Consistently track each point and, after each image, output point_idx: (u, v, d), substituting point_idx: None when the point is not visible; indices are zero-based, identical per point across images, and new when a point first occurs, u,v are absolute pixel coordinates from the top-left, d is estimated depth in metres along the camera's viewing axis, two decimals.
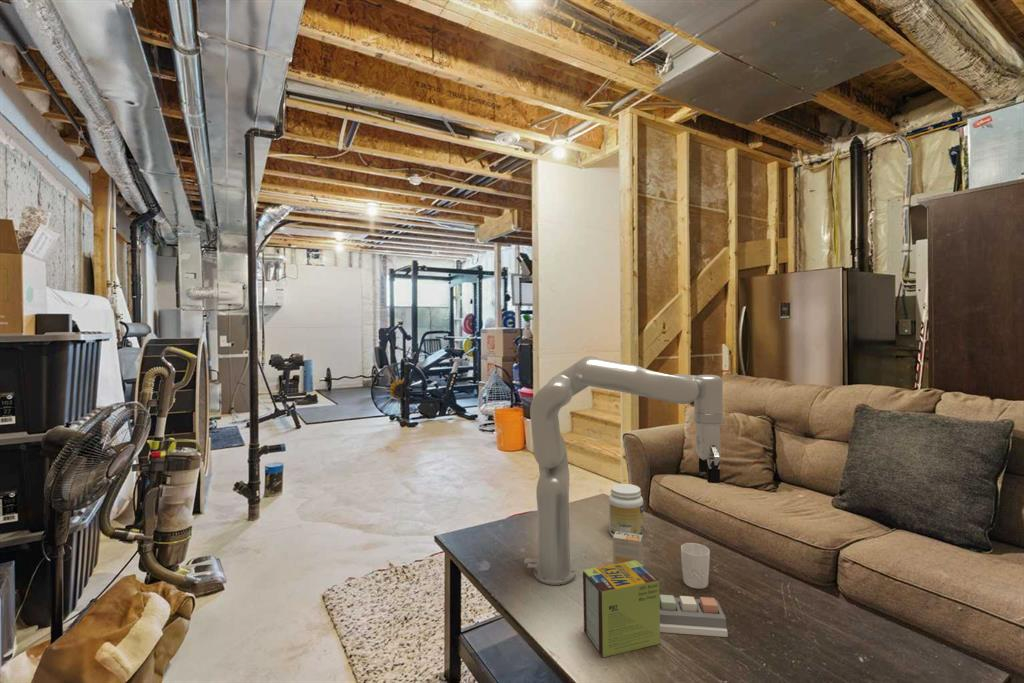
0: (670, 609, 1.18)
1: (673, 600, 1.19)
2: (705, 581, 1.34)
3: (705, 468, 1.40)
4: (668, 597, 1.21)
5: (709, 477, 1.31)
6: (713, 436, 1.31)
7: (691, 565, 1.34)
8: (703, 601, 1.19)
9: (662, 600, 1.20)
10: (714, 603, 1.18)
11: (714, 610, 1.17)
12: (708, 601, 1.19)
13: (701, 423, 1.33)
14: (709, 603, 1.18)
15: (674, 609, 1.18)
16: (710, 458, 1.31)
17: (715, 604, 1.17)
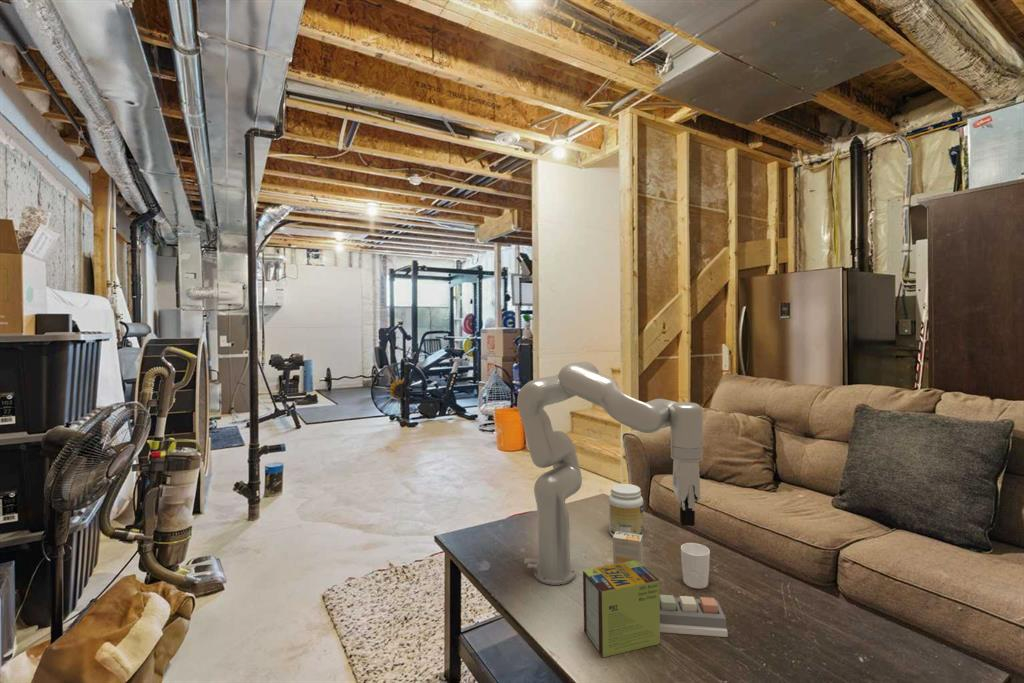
0: (670, 609, 1.18)
1: (673, 600, 1.19)
2: (705, 581, 1.34)
3: None
4: (668, 597, 1.21)
5: (683, 519, 1.18)
6: (691, 474, 1.13)
7: (691, 565, 1.34)
8: (703, 601, 1.19)
9: (662, 600, 1.20)
10: (714, 603, 1.18)
11: (714, 610, 1.17)
12: (708, 601, 1.19)
13: (678, 459, 1.16)
14: (709, 603, 1.18)
15: (674, 609, 1.18)
16: (688, 499, 1.14)
17: (715, 604, 1.17)
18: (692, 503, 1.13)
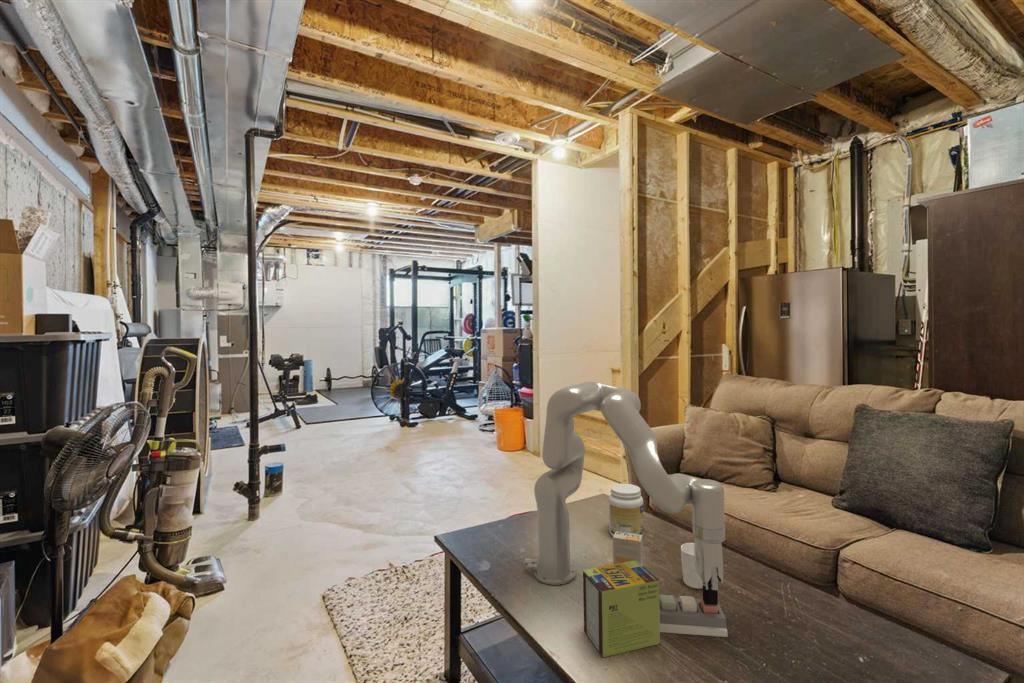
0: (670, 609, 1.18)
1: (673, 600, 1.19)
2: None
3: None
4: (668, 597, 1.21)
5: (706, 598, 1.18)
6: (714, 556, 1.13)
7: (691, 565, 1.34)
8: (703, 602, 1.19)
9: (662, 600, 1.20)
10: None
11: (714, 611, 1.17)
12: None
13: (700, 539, 1.16)
14: (709, 605, 1.18)
15: (674, 609, 1.18)
16: (711, 581, 1.14)
17: (715, 605, 1.17)
18: (716, 585, 1.13)
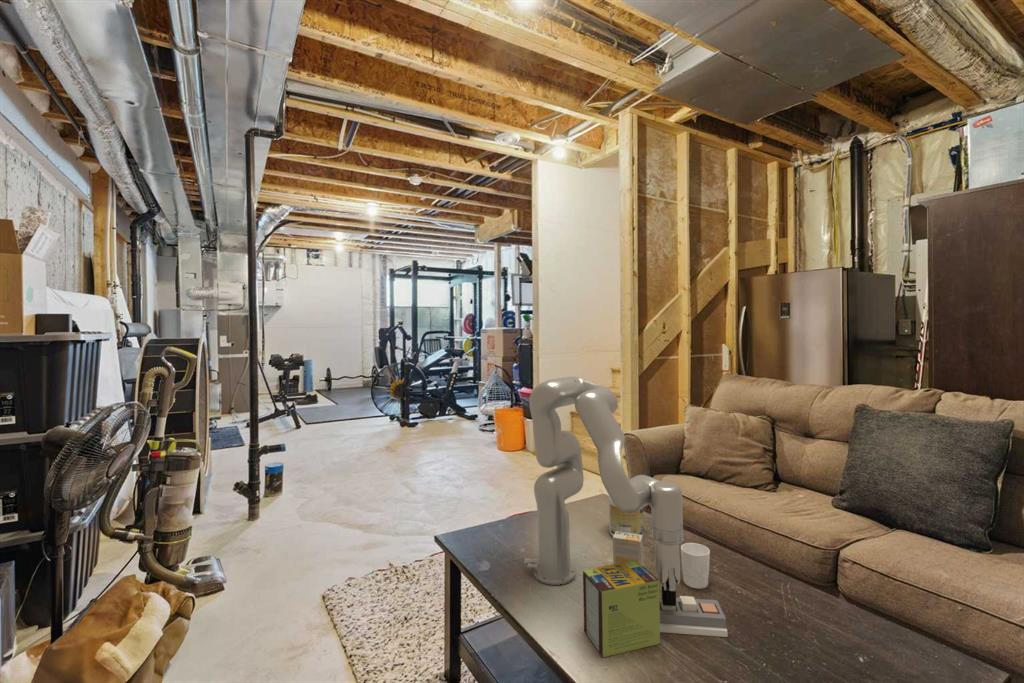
0: None
1: None
2: (705, 581, 1.34)
3: None
4: None
5: (664, 599, 1.19)
6: (671, 557, 1.15)
7: (691, 565, 1.34)
8: (703, 607, 1.19)
9: (662, 604, 1.20)
10: (714, 609, 1.18)
11: None
12: (708, 607, 1.19)
13: (658, 540, 1.17)
14: (710, 610, 1.18)
15: None
16: (668, 582, 1.15)
17: (715, 610, 1.17)
18: (672, 586, 1.15)
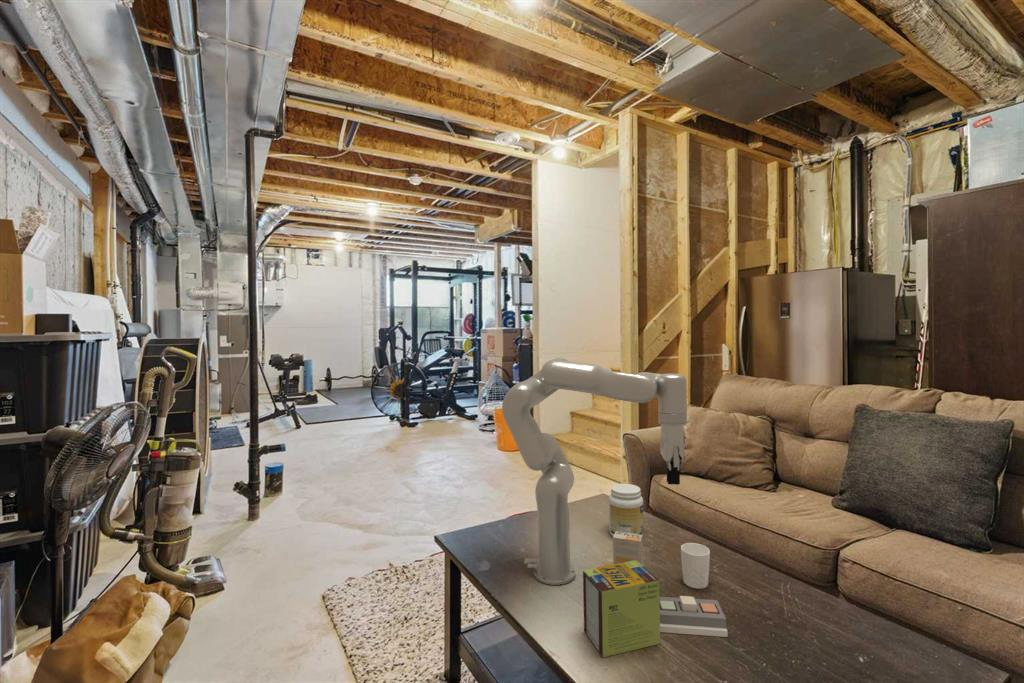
0: None
1: (673, 606, 1.19)
2: (705, 581, 1.34)
3: None
4: (668, 603, 1.21)
5: (669, 479, 1.31)
6: (676, 437, 1.26)
7: (691, 565, 1.34)
8: (703, 607, 1.19)
9: (662, 606, 1.20)
10: (714, 609, 1.18)
11: None
12: (708, 607, 1.19)
13: (664, 423, 1.29)
14: (710, 610, 1.18)
15: None
16: (673, 459, 1.27)
17: (715, 610, 1.17)
18: (677, 462, 1.26)
